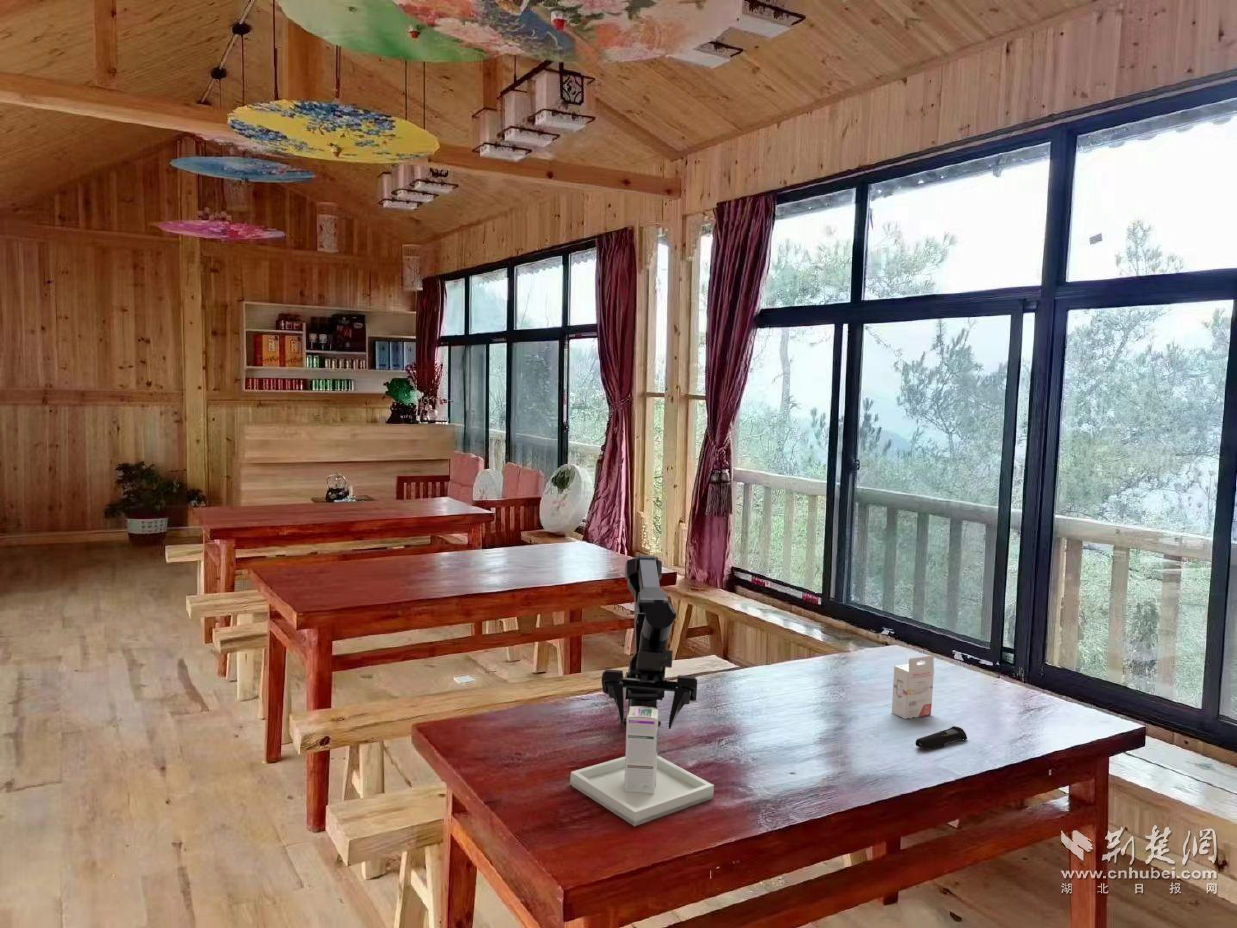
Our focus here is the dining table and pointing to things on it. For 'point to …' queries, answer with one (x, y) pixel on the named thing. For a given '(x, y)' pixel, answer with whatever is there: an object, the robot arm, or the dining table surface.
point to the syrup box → (641, 749)
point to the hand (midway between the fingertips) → (645, 726)
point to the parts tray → (637, 808)
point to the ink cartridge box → (913, 688)
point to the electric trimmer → (941, 738)
